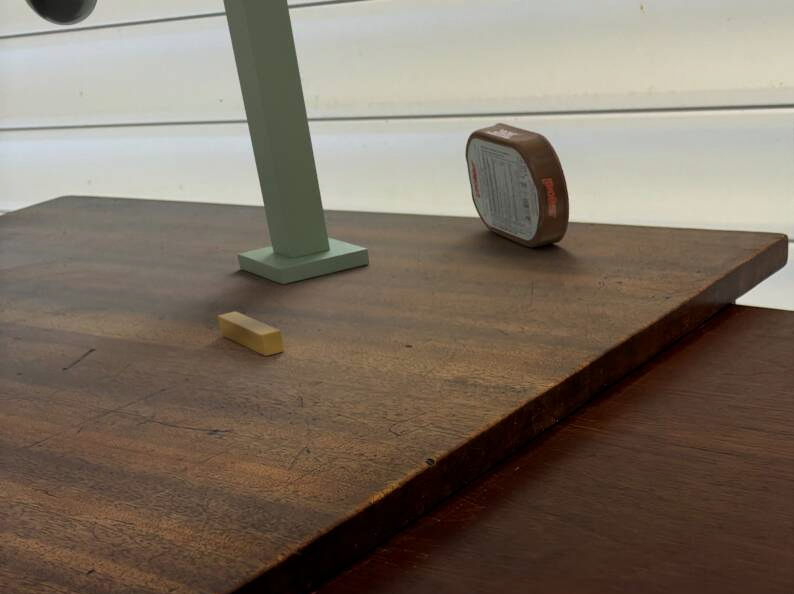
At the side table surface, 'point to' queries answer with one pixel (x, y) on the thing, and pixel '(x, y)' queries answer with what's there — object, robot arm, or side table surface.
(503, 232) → the tin
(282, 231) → the stand
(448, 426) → the side table surface
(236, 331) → the fry
